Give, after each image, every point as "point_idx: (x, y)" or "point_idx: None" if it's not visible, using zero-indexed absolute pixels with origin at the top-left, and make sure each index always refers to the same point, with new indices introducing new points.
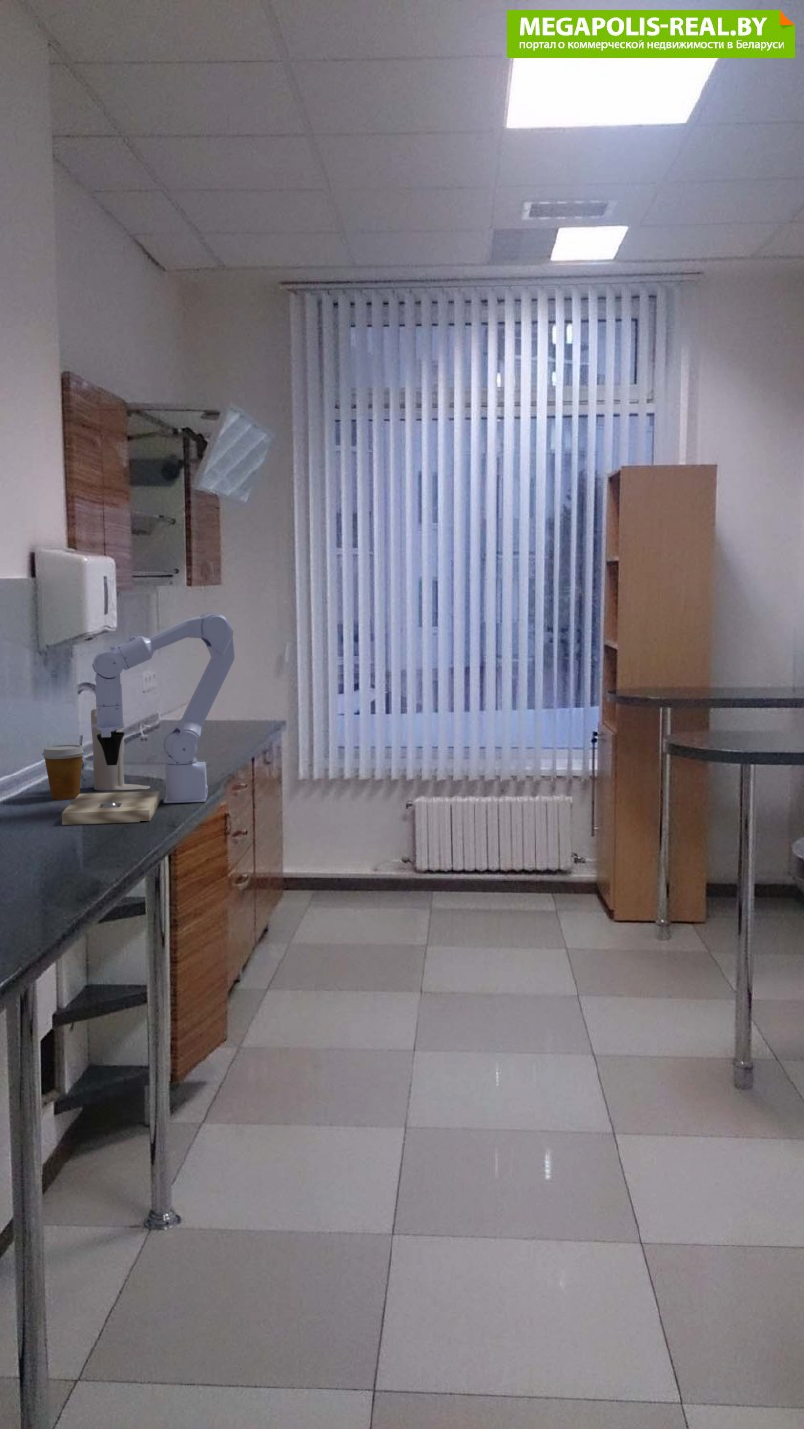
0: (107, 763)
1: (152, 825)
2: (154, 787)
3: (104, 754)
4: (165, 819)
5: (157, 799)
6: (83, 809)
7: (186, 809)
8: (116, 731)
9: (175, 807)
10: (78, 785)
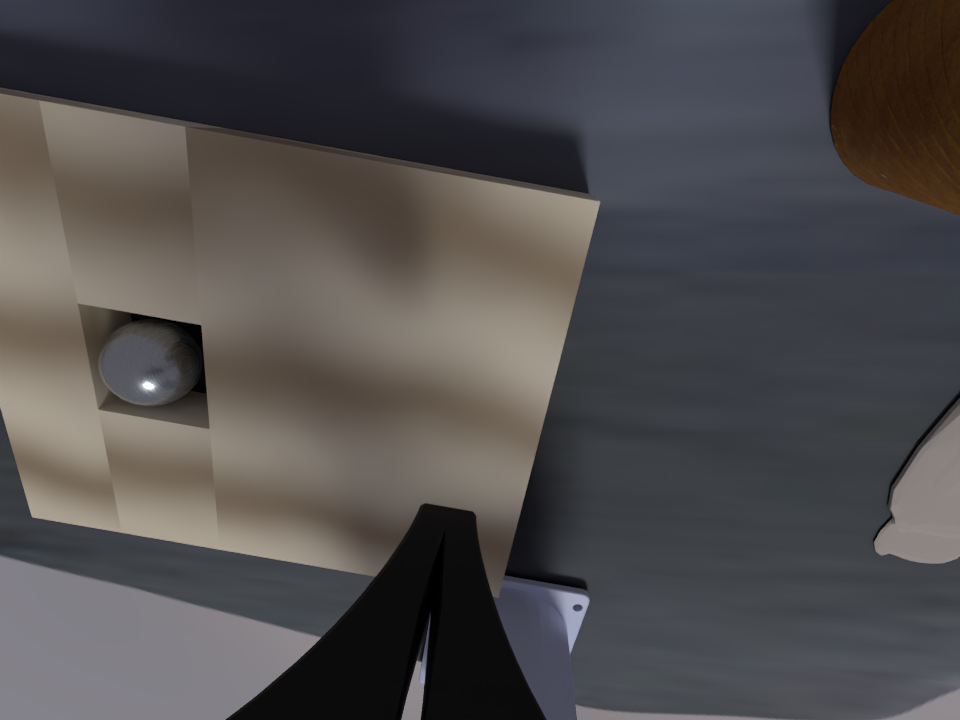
0: (416, 518)
1: (6, 484)
2: (898, 574)
3: (378, 573)
4: (120, 533)
5: None
6: (34, 222)
7: (304, 611)
8: None
9: (355, 587)
10: (914, 197)
